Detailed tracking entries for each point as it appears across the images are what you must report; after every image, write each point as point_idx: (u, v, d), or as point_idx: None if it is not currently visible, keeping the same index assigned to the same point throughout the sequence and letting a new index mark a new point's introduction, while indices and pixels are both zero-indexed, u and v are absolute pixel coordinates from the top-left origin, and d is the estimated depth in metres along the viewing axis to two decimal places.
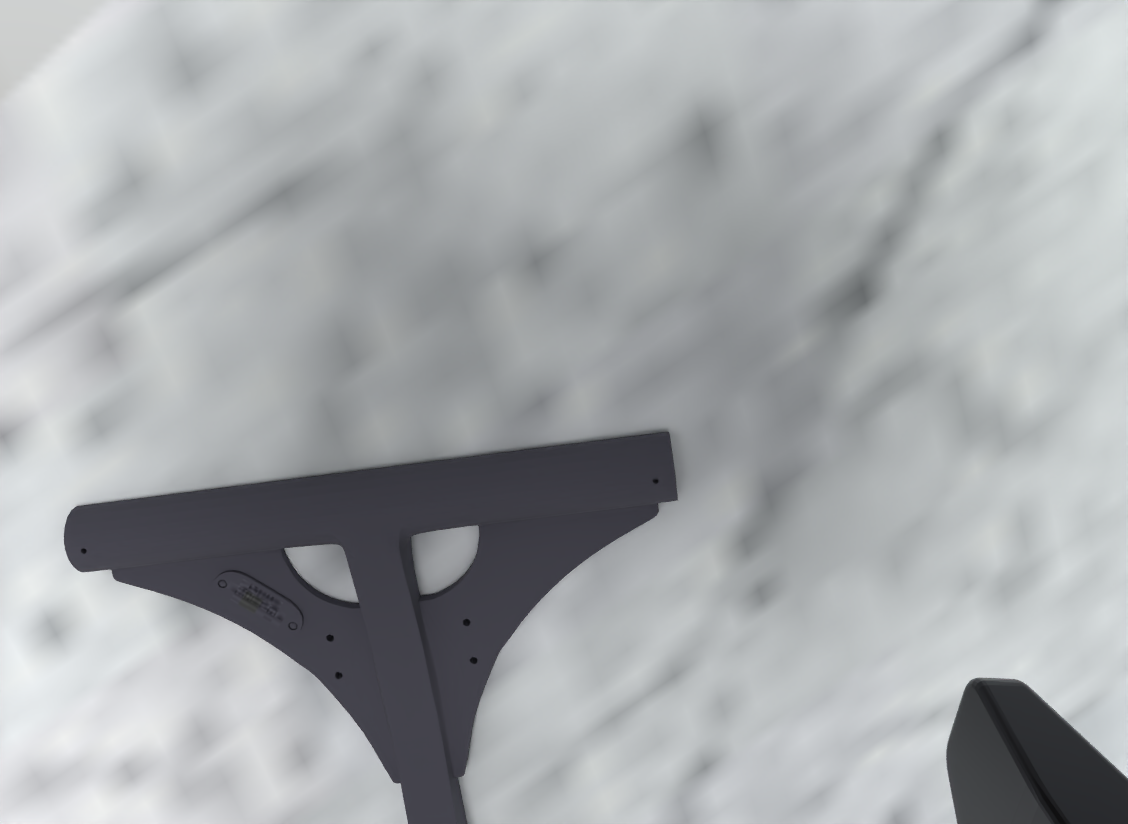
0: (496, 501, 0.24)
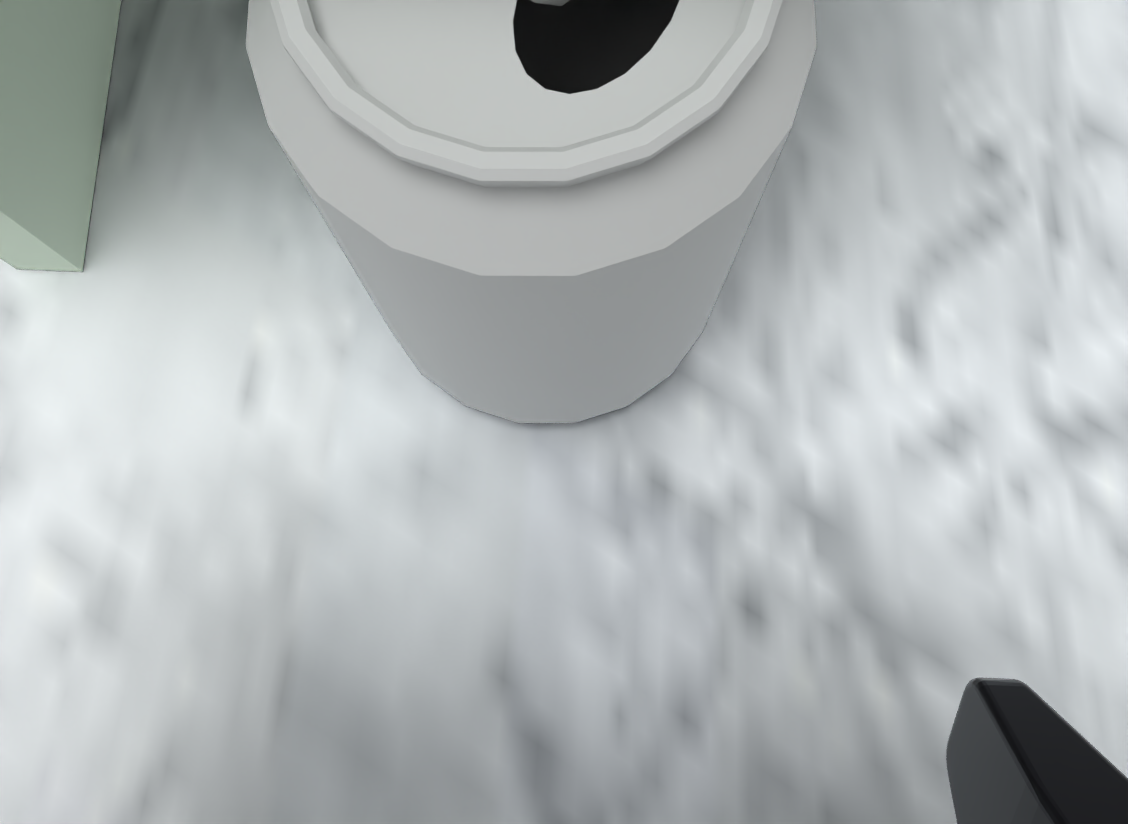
0: None
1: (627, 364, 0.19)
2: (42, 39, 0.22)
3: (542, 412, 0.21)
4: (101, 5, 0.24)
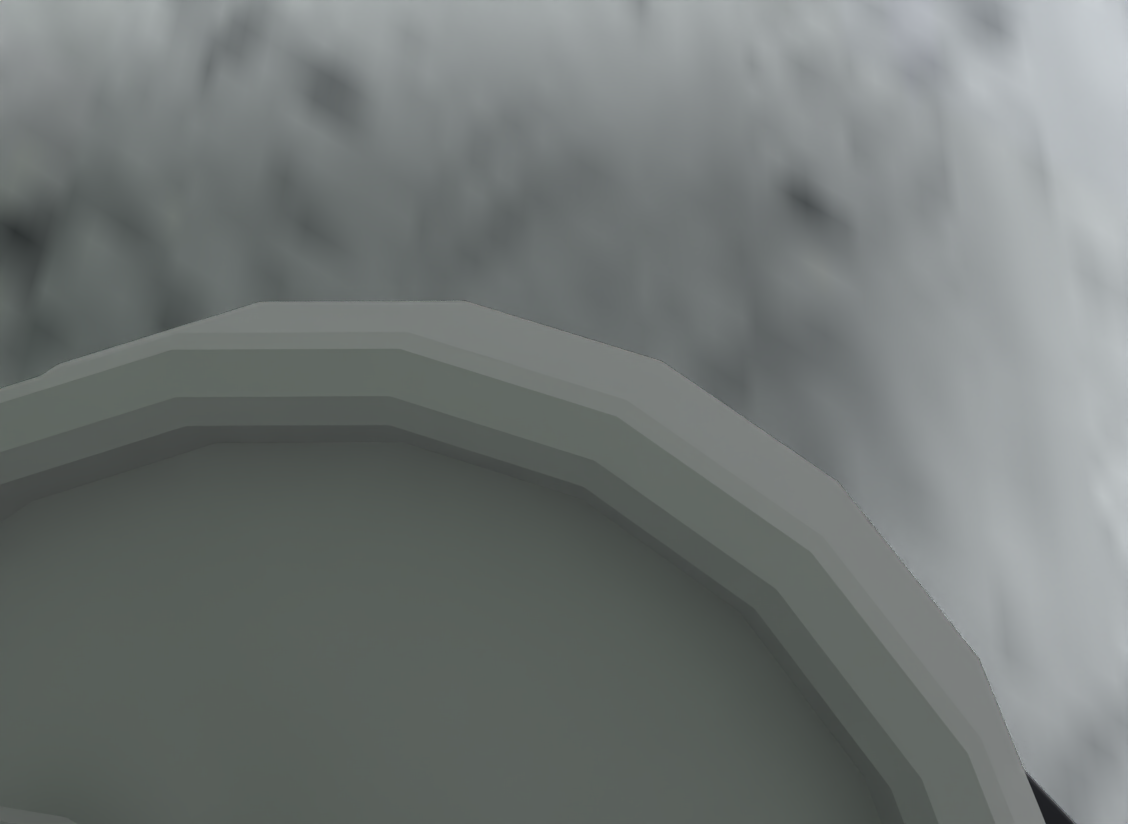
0: None
1: None
2: None
3: None
4: None
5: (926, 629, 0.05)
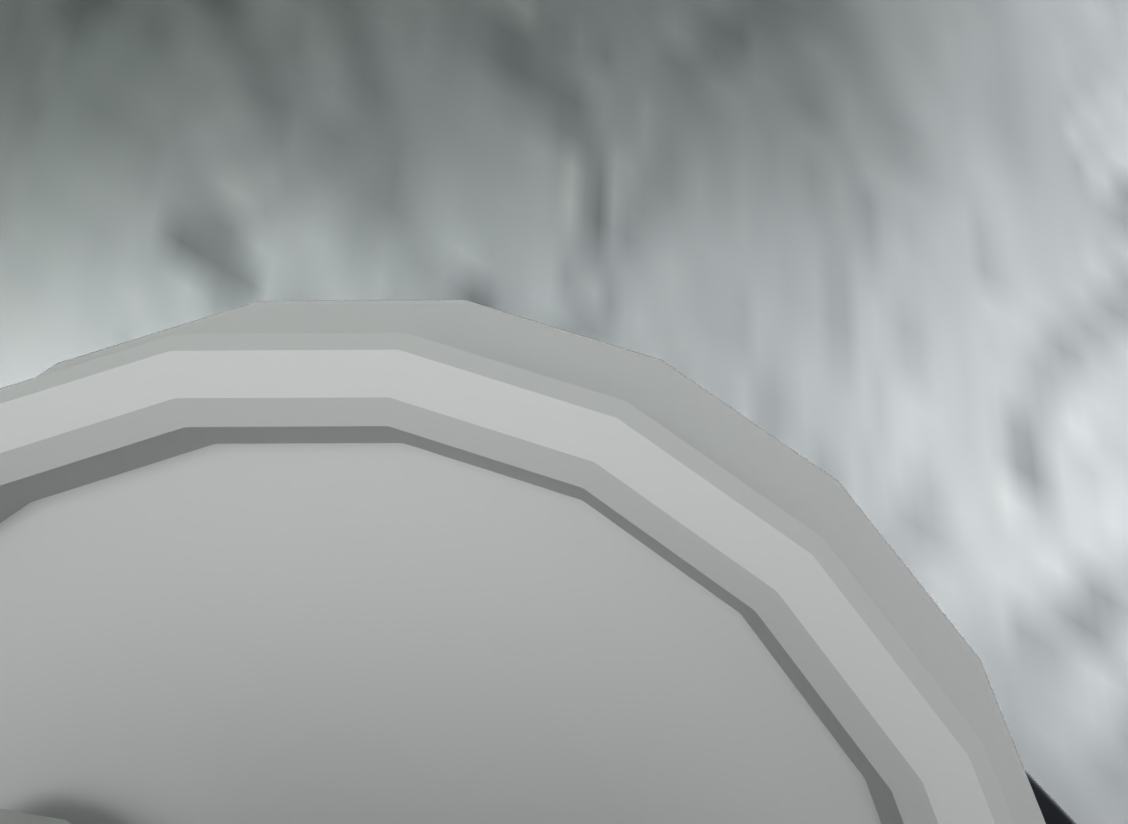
0: None
1: None
2: None
3: None
4: None
5: (927, 629, 0.05)
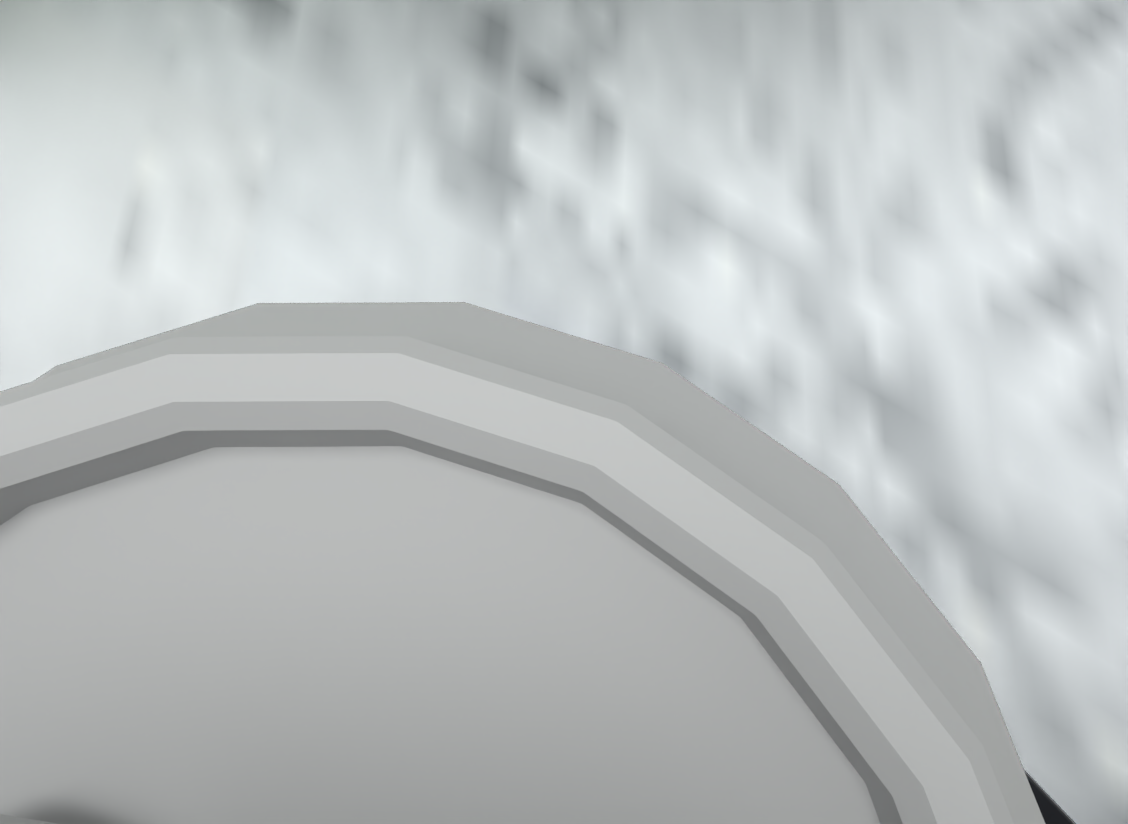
0: None
1: None
2: None
3: None
4: None
5: (927, 633, 0.05)
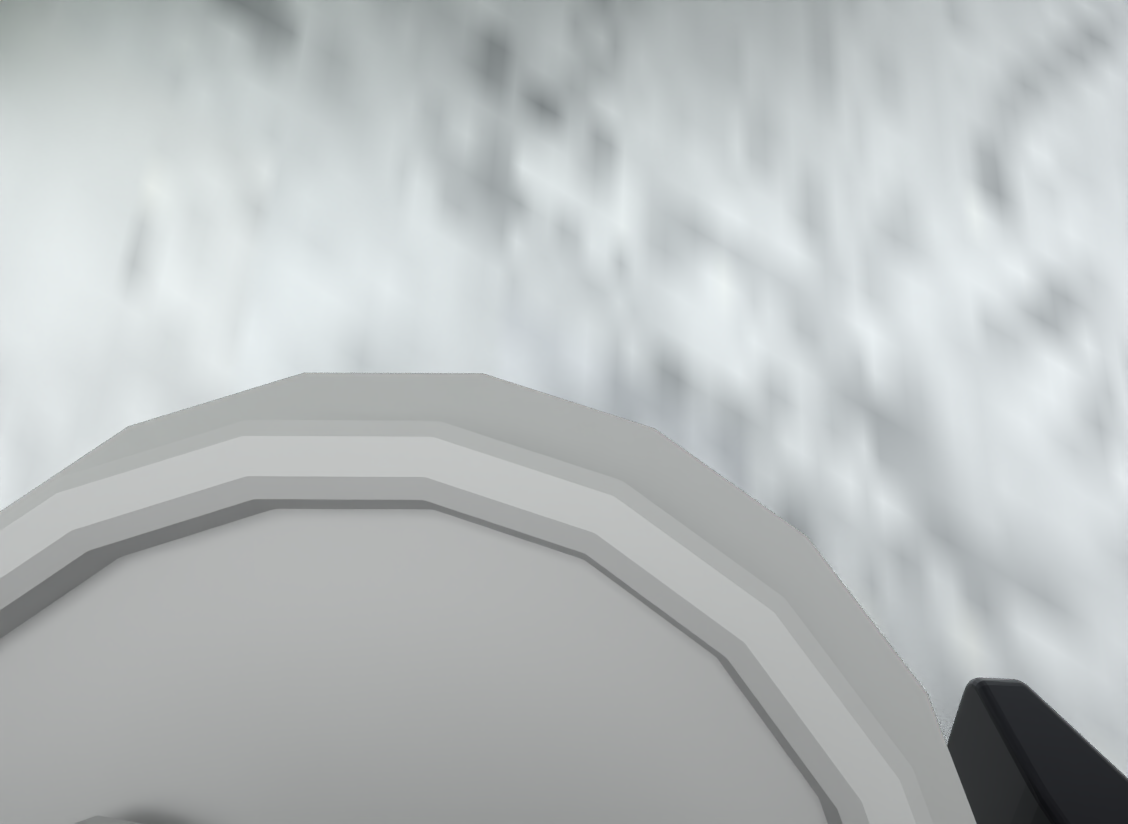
0: None
1: None
2: None
3: None
4: None
5: (879, 667, 0.06)
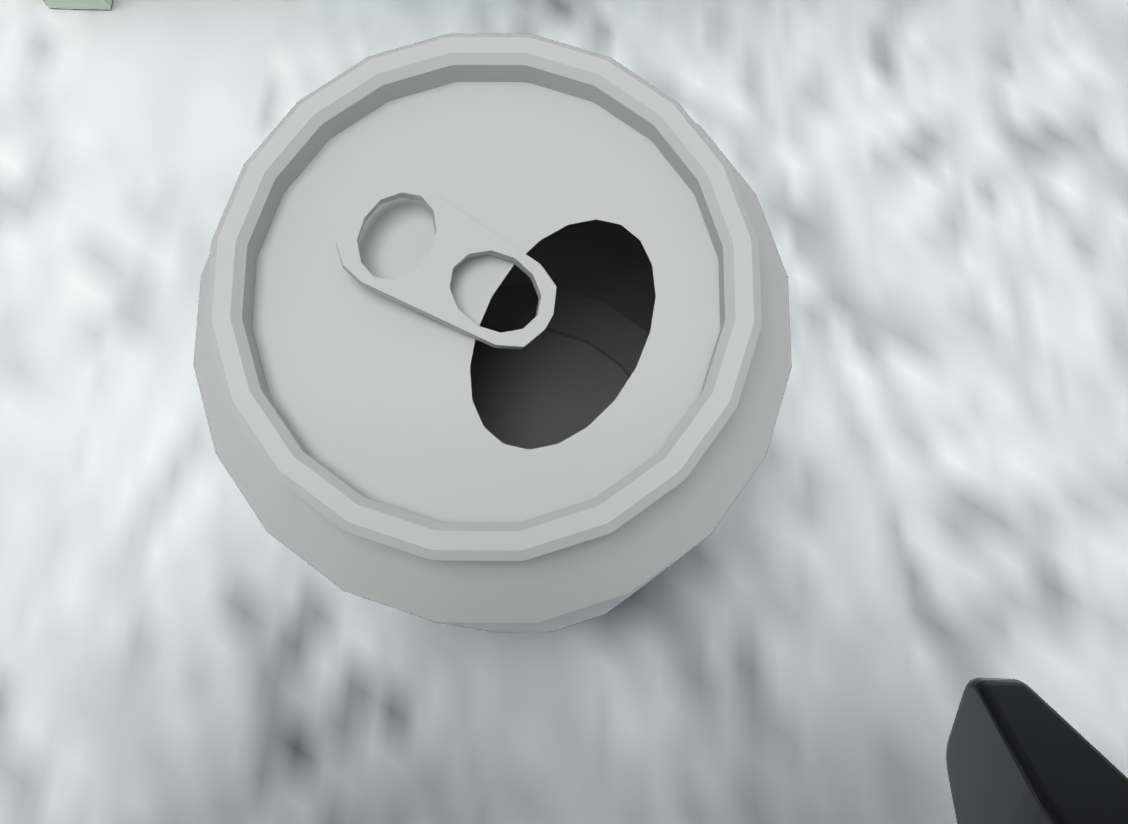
0: None
1: (602, 611, 0.18)
2: None
3: None
4: None
5: None
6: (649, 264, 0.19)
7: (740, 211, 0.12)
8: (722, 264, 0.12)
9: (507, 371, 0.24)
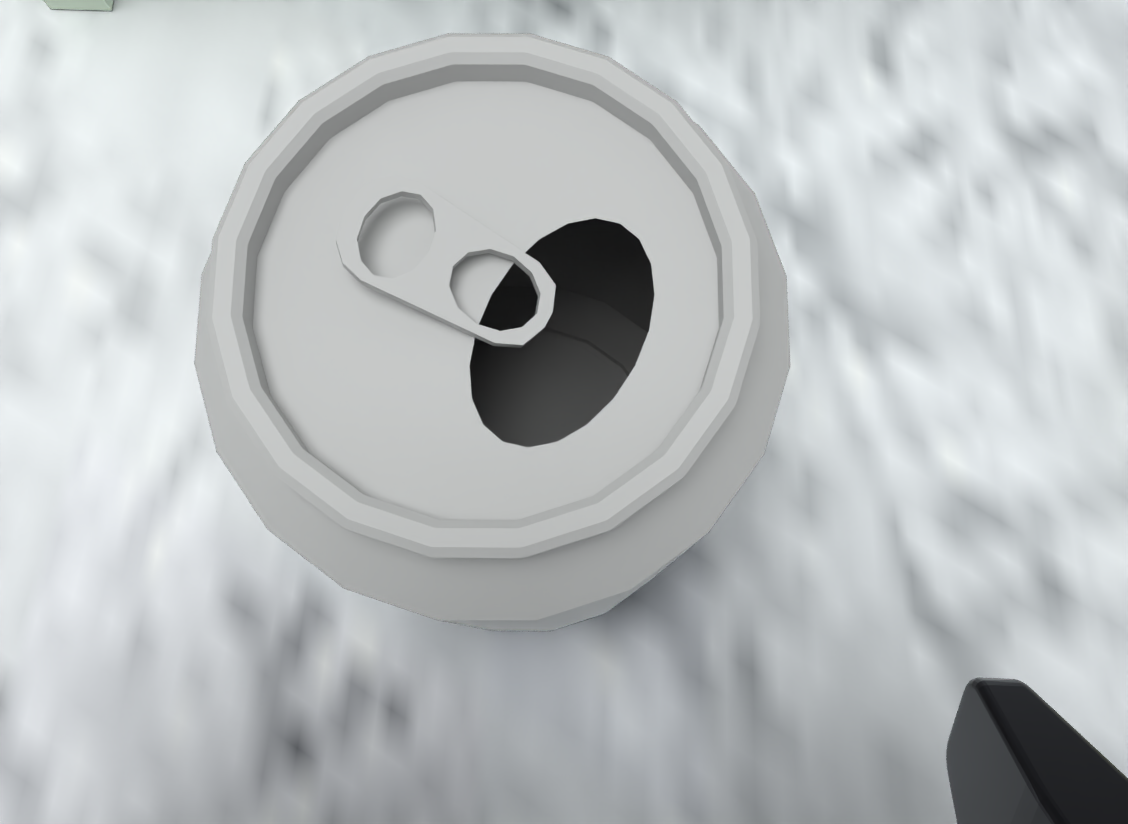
0: None
1: (601, 610, 0.18)
2: None
3: None
4: None
5: None
6: (649, 264, 0.19)
7: (738, 210, 0.12)
8: (721, 263, 0.12)
9: (507, 371, 0.24)
